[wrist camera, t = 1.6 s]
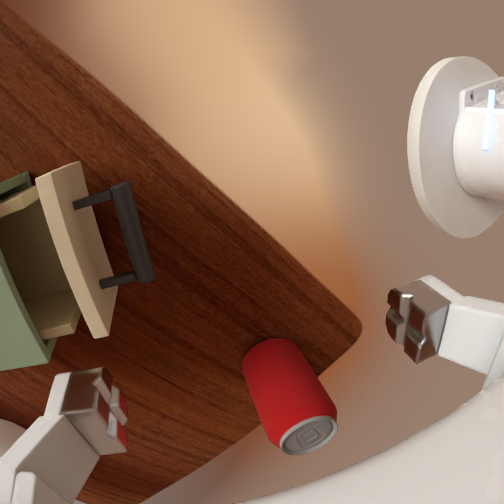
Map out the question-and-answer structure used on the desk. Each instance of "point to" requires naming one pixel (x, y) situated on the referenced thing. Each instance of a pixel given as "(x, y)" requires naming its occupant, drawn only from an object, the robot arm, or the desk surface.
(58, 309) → the drawer
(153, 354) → the desk surface
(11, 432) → the cup
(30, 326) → the cabinet
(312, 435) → the beverage can
